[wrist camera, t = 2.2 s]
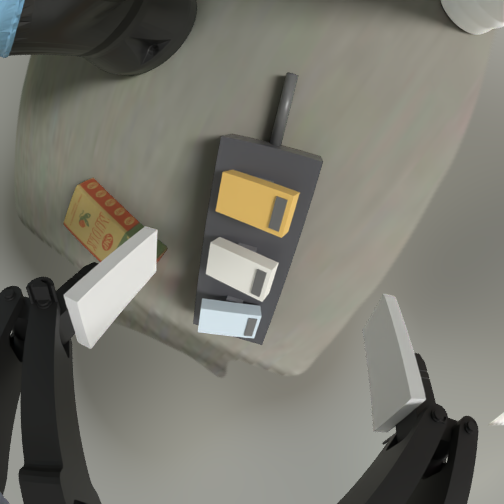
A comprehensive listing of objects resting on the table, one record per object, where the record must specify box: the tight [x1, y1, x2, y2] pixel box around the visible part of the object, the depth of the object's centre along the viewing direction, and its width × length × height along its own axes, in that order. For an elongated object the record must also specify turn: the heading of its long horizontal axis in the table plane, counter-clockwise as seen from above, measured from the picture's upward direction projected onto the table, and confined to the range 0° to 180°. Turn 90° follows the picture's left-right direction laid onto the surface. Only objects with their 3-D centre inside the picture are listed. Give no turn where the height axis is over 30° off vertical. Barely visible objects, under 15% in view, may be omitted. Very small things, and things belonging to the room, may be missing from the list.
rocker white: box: [206, 237, 278, 302], centre depth 29 cm, size 7×4×2 cm, turn 78°
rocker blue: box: [198, 298, 262, 338], centre depth 32 cm, size 7×4×2 cm, turn 78°
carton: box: [63, 178, 167, 264], centre depth 36 cm, size 8×16×4 cm, turn 48°
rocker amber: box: [216, 170, 300, 238], centre depth 25 cm, size 7×4×2 cm, turn 78°
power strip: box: [193, 73, 323, 345], centre depth 30 cm, size 10×33×5 cm, turn 168°
